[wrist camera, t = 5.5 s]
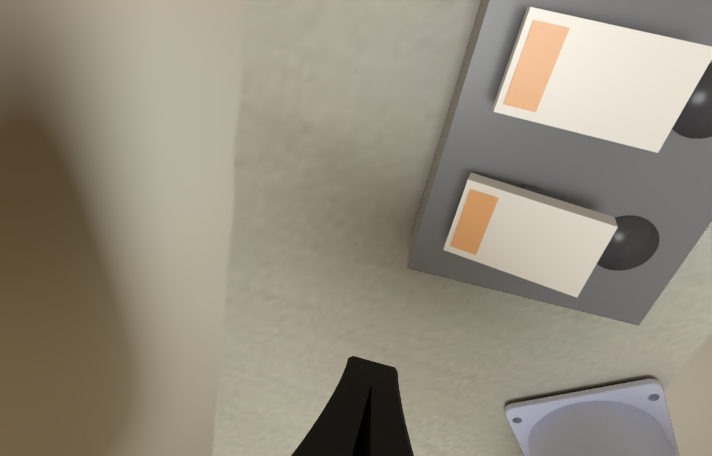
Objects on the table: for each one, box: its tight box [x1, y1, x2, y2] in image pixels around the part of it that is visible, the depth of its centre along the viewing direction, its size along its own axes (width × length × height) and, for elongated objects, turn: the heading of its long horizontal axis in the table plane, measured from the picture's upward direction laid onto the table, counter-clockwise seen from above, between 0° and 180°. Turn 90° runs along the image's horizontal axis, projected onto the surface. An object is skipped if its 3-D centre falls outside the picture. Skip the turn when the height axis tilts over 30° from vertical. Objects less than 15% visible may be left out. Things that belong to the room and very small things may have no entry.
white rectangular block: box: [443, 173, 618, 297], centre depth 16 cm, size 3×5×1 cm, turn 79°
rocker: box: [493, 6, 712, 153], centre depth 13 cm, size 3×5×1 cm, turn 79°
